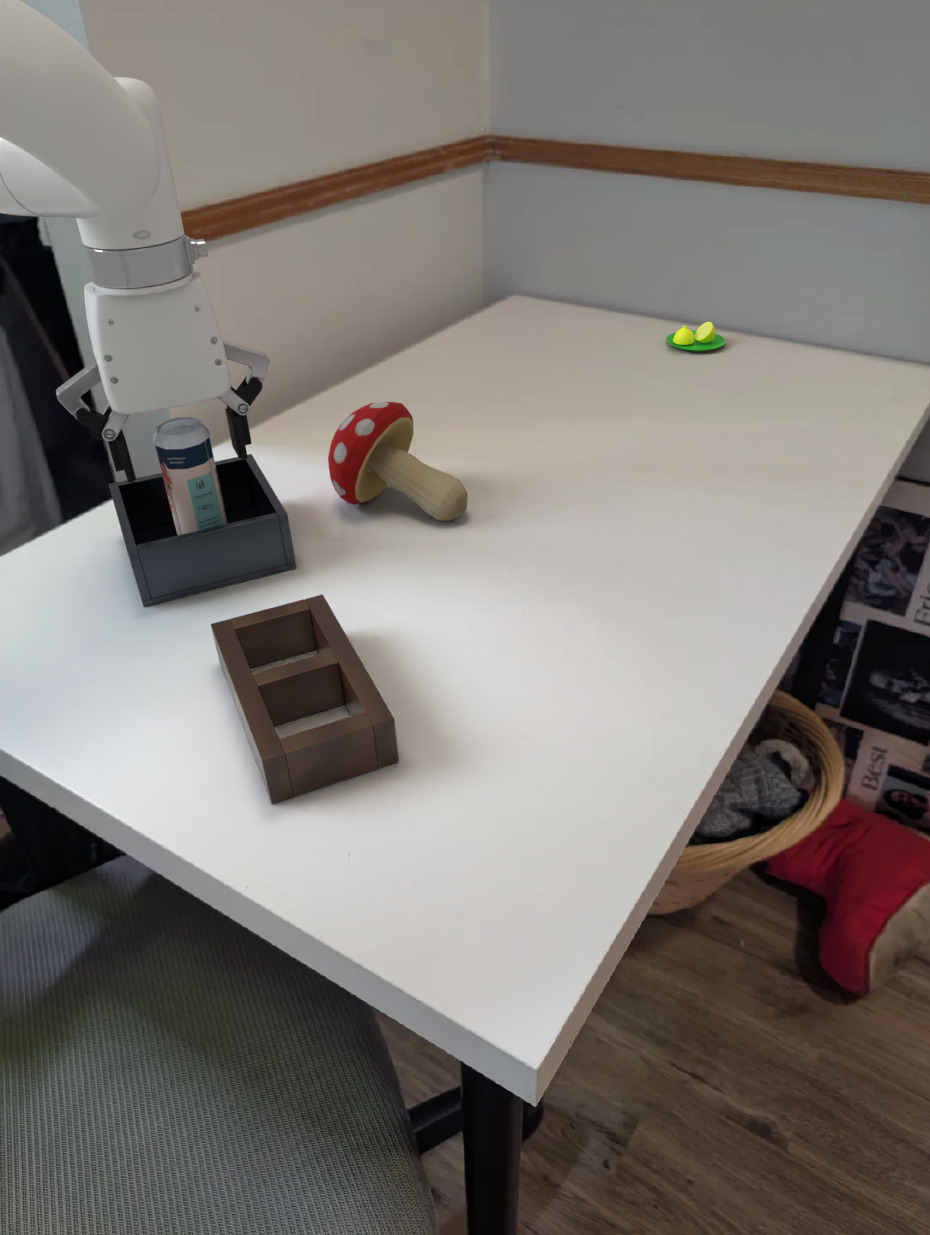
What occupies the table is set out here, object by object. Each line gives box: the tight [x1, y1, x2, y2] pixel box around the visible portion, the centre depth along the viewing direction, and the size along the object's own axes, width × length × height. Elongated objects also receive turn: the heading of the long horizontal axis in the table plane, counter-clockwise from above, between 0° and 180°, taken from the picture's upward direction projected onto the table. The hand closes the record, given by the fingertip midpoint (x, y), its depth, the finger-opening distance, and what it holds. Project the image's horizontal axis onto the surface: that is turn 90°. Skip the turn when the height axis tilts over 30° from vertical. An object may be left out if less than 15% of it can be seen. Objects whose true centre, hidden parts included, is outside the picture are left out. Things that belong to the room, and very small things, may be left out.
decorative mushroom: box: [327, 401, 469, 522], centre depth 90 cm, size 11×11×15 cm
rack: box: [210, 594, 400, 805], centre depth 66 cm, size 9×16×4 cm, turn 24°
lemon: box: [665, 321, 726, 353], centre depth 126 cm, size 8×8×3 cm
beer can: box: [152, 416, 228, 535], centre depth 83 cm, size 5×5×12 cm
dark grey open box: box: [108, 453, 297, 607], centre depth 85 cm, size 14×14×6 cm
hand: (186, 464), depth 81 cm, fingers open, 9 cm apart
